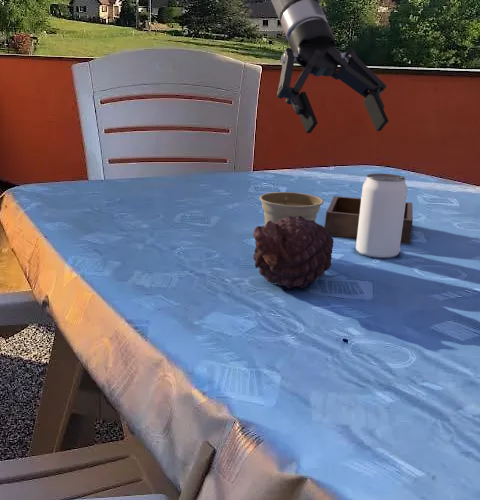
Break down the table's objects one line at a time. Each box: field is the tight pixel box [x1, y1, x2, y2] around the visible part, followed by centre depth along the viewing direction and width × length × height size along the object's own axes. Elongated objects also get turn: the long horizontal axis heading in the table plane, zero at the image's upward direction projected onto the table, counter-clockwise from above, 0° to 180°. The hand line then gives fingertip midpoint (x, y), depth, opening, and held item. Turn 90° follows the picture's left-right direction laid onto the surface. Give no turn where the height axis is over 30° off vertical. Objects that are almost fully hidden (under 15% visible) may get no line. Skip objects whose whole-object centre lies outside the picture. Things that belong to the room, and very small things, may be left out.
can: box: [355, 172, 408, 259], centre depth 109 cm, size 6×6×12 cm
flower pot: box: [259, 191, 324, 225], centre depth 108 cm, size 9×9×9 cm
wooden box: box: [324, 195, 414, 245], centre depth 123 cm, size 14×14×4 cm
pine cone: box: [253, 216, 334, 290], centre depth 95 cm, size 18×10×10 cm
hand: (348, 127), depth 118 cm, fingers open, 13 cm apart
